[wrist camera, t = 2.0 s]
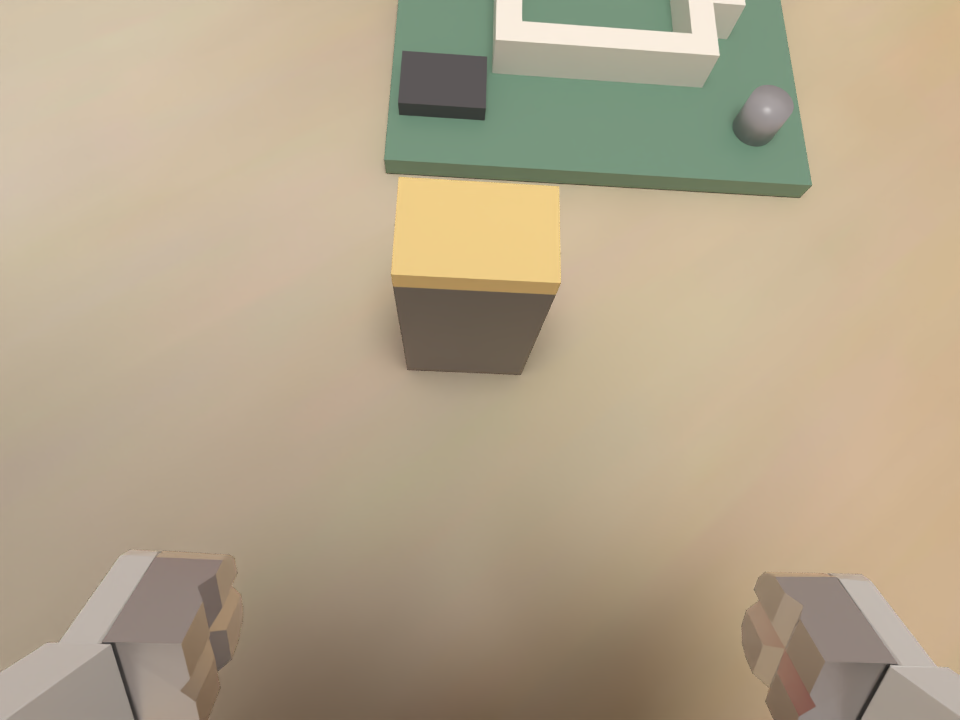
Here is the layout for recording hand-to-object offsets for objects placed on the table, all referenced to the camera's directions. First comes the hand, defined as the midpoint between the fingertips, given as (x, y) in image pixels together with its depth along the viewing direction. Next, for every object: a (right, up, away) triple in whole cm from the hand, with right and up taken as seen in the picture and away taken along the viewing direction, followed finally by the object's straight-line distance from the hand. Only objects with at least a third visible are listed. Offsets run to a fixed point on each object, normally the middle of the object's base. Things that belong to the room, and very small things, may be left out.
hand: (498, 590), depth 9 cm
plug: (-1, +5, +17) cm, 17 cm away
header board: (+6, +21, +23) cm, 32 cm away
